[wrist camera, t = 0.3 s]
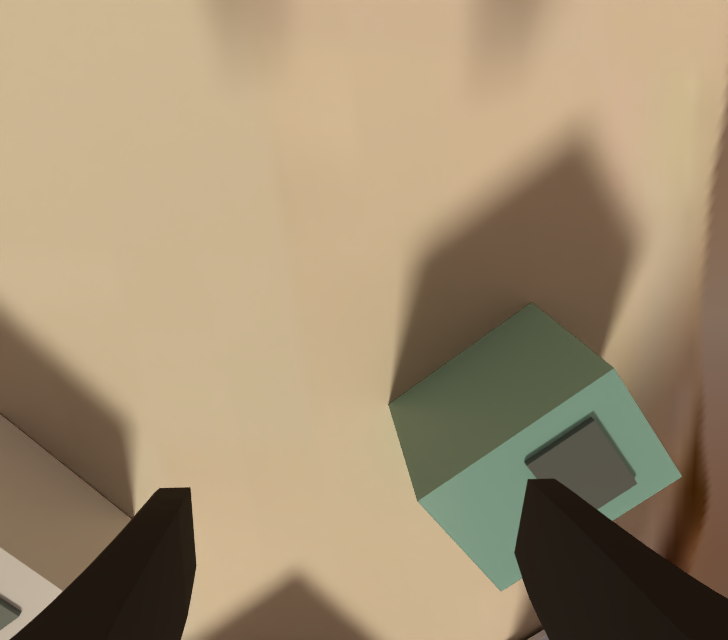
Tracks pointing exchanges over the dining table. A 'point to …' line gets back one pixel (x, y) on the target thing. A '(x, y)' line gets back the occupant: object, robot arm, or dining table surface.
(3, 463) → the rail mount
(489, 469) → the block
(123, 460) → the dining table surface
